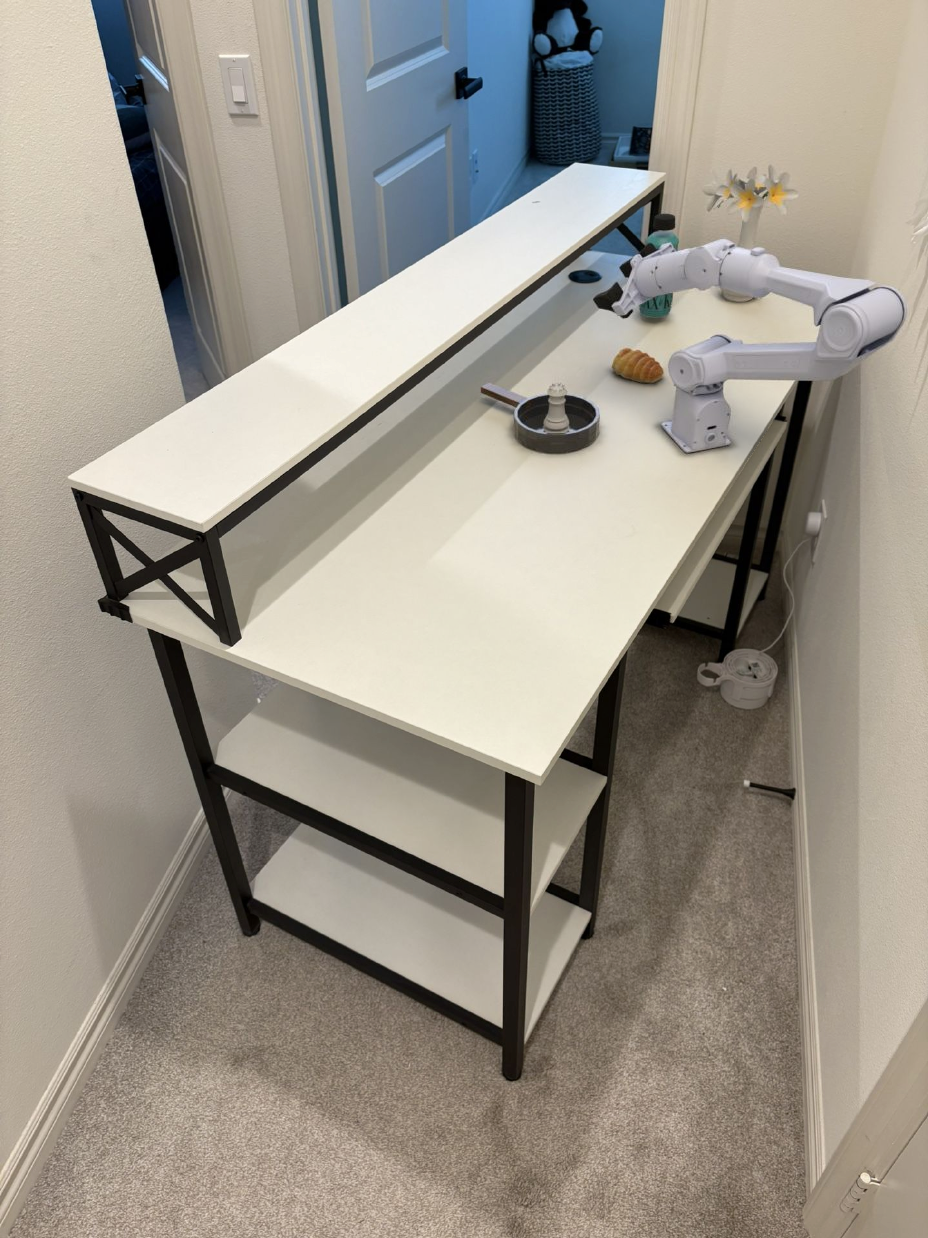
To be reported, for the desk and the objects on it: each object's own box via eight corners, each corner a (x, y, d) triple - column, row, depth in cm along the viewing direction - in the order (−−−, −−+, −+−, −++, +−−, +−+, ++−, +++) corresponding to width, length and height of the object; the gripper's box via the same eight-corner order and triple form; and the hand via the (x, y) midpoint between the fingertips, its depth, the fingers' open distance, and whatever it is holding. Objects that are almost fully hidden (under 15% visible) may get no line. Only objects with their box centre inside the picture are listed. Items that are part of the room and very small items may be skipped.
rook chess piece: (548, 438, 147) (548, 394, 141) (539, 426, 150) (539, 382, 144) (573, 434, 147) (575, 389, 142) (564, 421, 151) (565, 377, 145)
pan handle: (531, 406, 151) (531, 399, 151) (523, 410, 150) (523, 404, 150) (489, 388, 157) (489, 382, 156) (480, 392, 156) (480, 386, 155)
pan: (611, 445, 145) (612, 425, 143) (529, 460, 143) (529, 441, 140) (580, 406, 155) (581, 387, 153) (503, 419, 153) (503, 400, 150)
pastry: (671, 375, 162) (673, 356, 159) (648, 389, 159) (650, 369, 156) (629, 360, 167) (631, 341, 164) (607, 374, 164) (608, 354, 161)
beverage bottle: (631, 316, 182) (640, 213, 169) (659, 309, 184) (669, 207, 171) (649, 327, 178) (659, 223, 164) (677, 320, 179) (689, 216, 166)
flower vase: (703, 278, 195) (719, 154, 178) (787, 292, 187) (813, 163, 170) (681, 300, 187) (696, 171, 170) (768, 315, 179) (793, 182, 162)
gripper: (681, 219, 136) (622, 237, 147) (628, 284, 133) (571, 297, 144) (703, 258, 139) (643, 272, 151) (652, 321, 136) (595, 331, 148)
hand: (610, 286), depth 148 cm, fingers open, 7 cm apart
